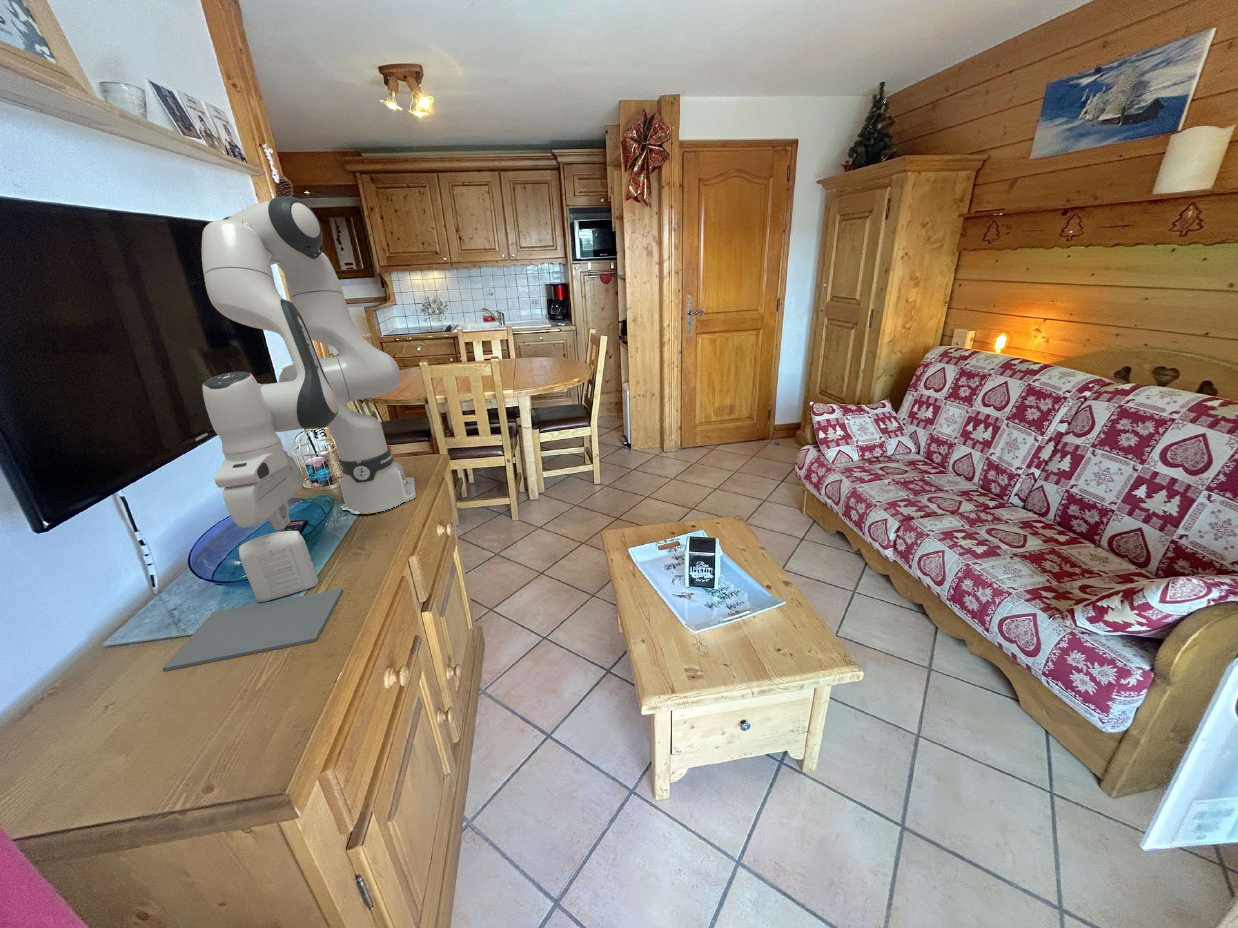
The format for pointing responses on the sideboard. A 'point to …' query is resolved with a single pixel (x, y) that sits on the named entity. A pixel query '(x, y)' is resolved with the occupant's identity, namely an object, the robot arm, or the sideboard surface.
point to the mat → (257, 629)
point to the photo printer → (278, 565)
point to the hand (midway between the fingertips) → (283, 526)
